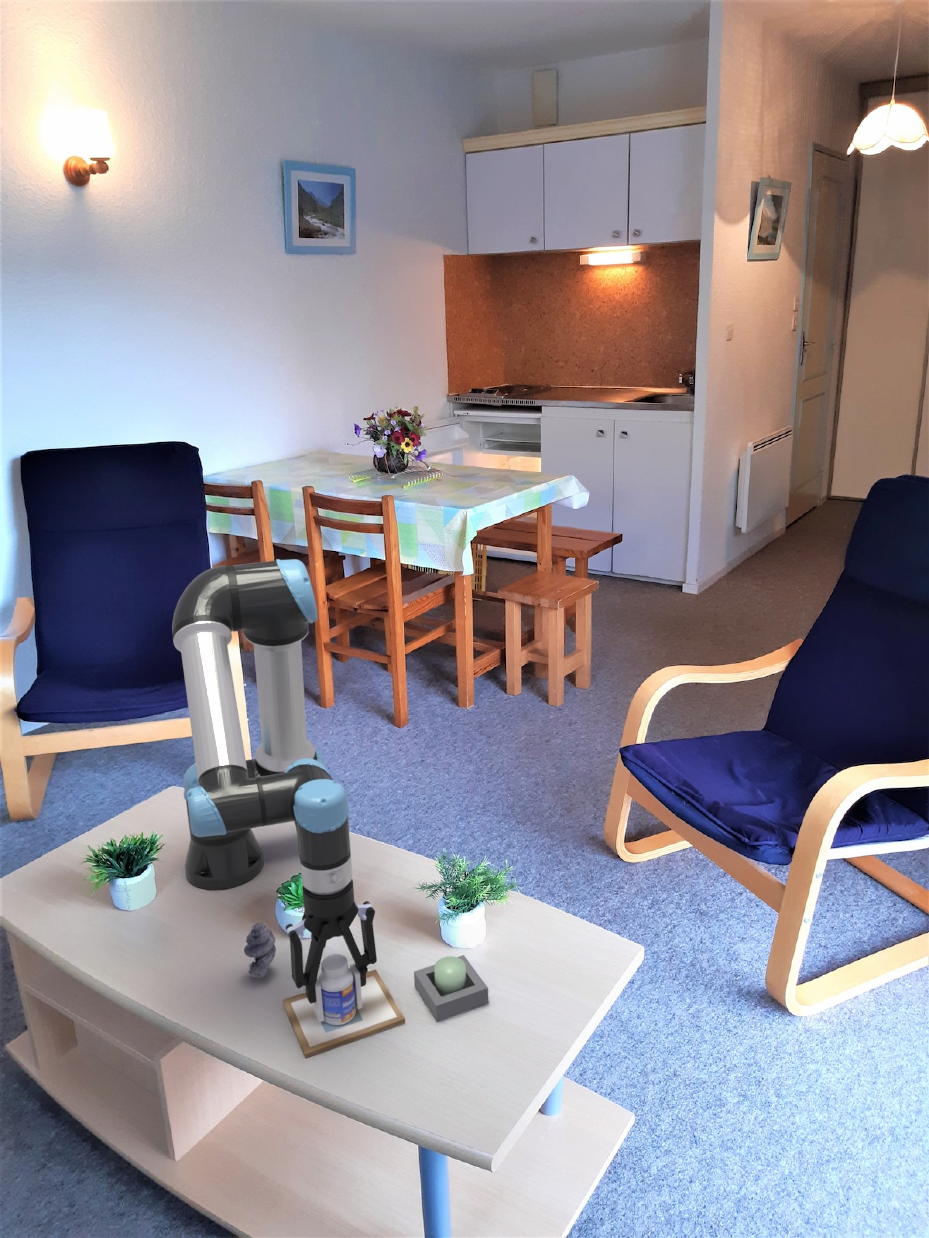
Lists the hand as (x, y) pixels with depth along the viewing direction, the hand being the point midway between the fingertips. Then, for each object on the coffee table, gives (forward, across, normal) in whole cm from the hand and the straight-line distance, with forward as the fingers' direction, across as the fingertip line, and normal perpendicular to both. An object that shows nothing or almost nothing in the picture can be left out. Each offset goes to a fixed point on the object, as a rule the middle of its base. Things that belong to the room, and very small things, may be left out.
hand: (338, 1009), depth 148 cm
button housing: (+2, +18, -3) cm, 18 cm away
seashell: (+2, -8, +16) cm, 18 cm away
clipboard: (+2, +1, +1) cm, 2 cm away
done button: (0, +18, -3) cm, 18 cm away
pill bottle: (+1, 0, 0) cm, 1 cm away
